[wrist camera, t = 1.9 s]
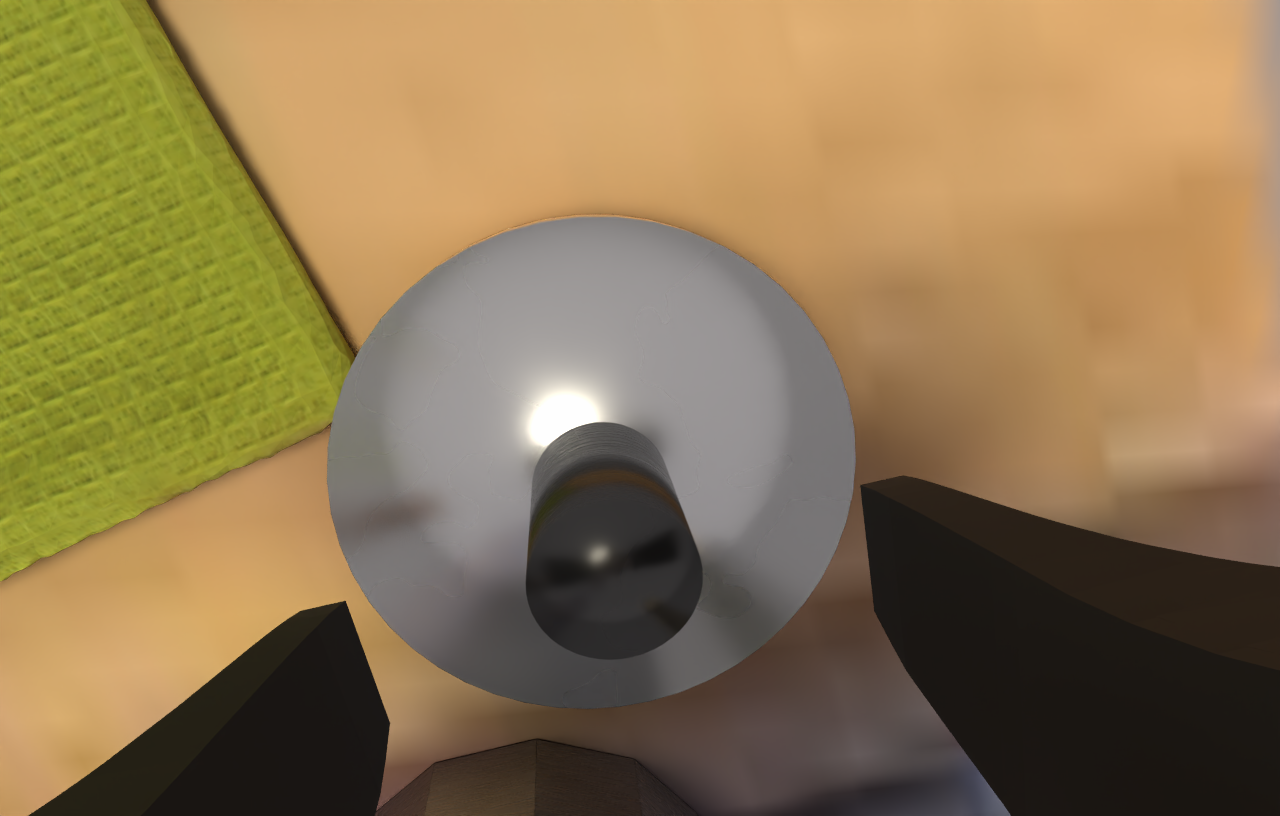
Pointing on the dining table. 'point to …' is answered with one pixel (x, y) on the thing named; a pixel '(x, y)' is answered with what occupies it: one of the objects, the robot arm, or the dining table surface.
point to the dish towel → (135, 285)
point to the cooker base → (536, 786)
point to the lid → (591, 462)
